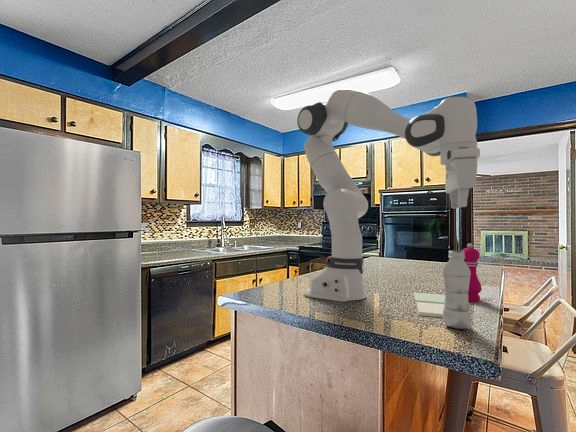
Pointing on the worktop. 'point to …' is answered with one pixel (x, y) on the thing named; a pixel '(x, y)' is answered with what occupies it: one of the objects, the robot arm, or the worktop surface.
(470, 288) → the pepper mill
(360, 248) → the robot arm
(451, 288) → the plastic bottle
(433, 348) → the worktop surface
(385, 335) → the worktop surface
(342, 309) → the worktop surface
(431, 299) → the mat
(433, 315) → the mat
